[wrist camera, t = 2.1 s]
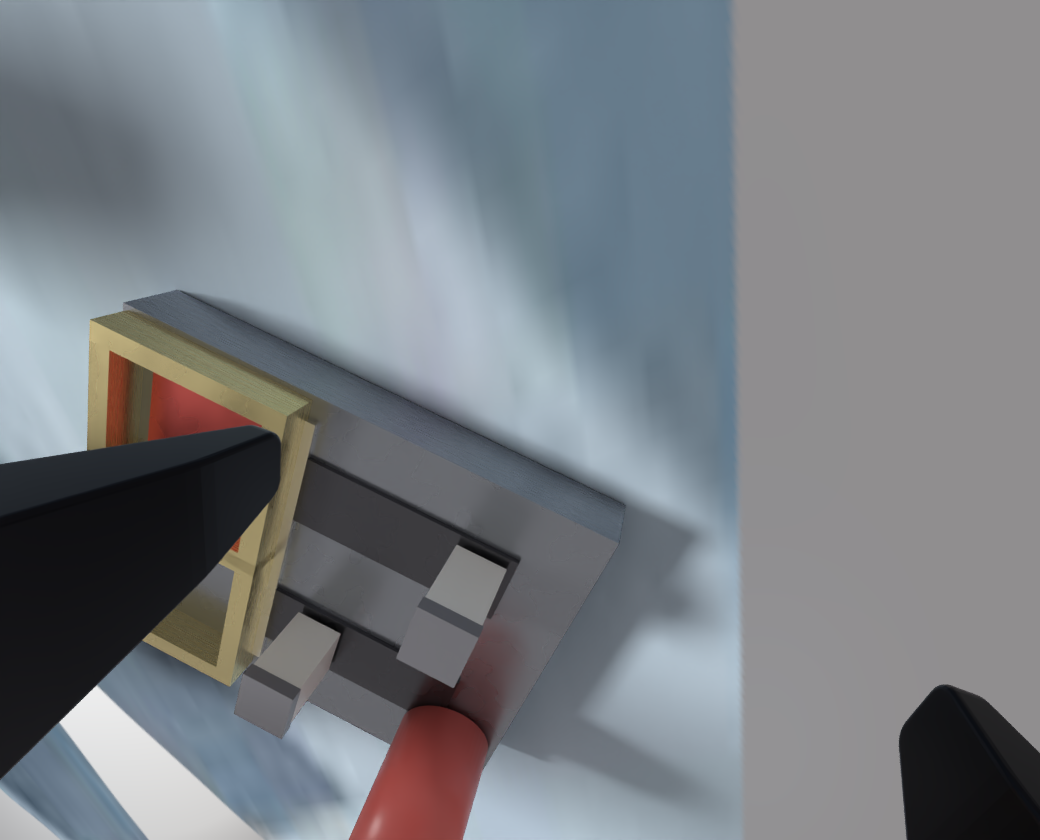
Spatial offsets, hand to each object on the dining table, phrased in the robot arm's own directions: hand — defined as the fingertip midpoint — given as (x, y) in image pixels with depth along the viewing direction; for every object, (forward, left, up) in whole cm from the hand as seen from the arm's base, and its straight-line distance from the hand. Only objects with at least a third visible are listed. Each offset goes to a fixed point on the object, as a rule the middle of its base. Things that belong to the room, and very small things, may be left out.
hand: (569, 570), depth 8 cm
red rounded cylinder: (-19, 0, -10) cm, 22 cm away
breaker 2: (-10, +1, -10) cm, 14 cm away
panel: (-14, +7, -13) cm, 20 cm away
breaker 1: (-17, +6, -10) cm, 21 cm away
